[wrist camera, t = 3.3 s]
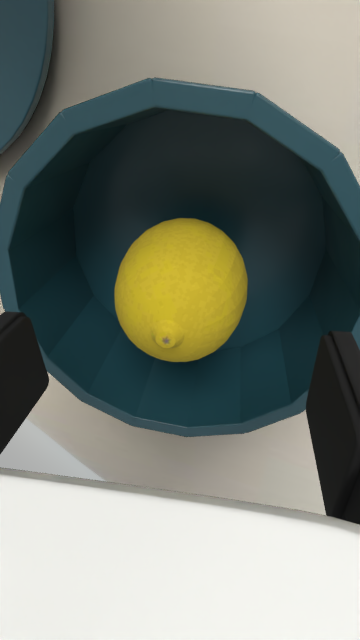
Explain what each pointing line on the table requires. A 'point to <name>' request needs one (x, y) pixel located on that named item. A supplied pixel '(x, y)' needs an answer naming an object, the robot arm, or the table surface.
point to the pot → (171, 203)
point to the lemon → (181, 290)
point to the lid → (22, 62)
